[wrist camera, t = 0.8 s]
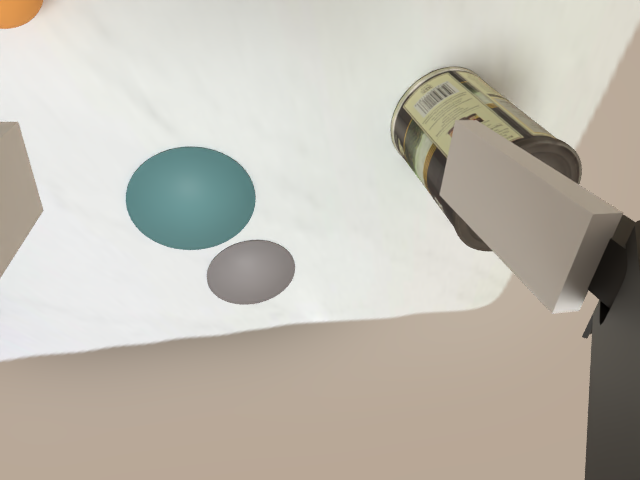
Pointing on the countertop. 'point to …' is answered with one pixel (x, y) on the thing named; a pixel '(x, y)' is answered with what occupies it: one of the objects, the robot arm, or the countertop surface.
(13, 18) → the ball
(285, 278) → the disc
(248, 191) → the disc
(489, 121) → the coffee can
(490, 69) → the countertop surface
